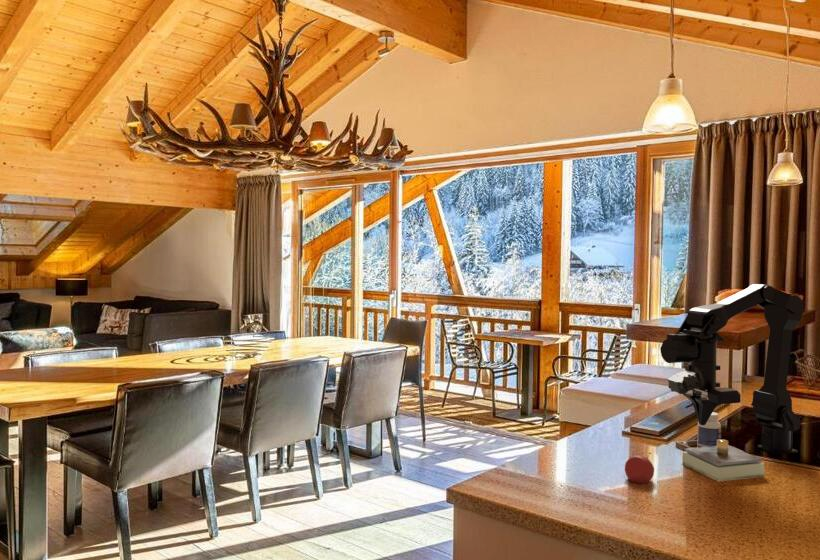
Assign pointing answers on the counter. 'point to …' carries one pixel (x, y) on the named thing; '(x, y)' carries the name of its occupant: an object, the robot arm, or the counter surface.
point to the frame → (690, 444)
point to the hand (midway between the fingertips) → (702, 424)
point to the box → (723, 469)
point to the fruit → (639, 469)
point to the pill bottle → (709, 432)
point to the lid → (722, 454)
